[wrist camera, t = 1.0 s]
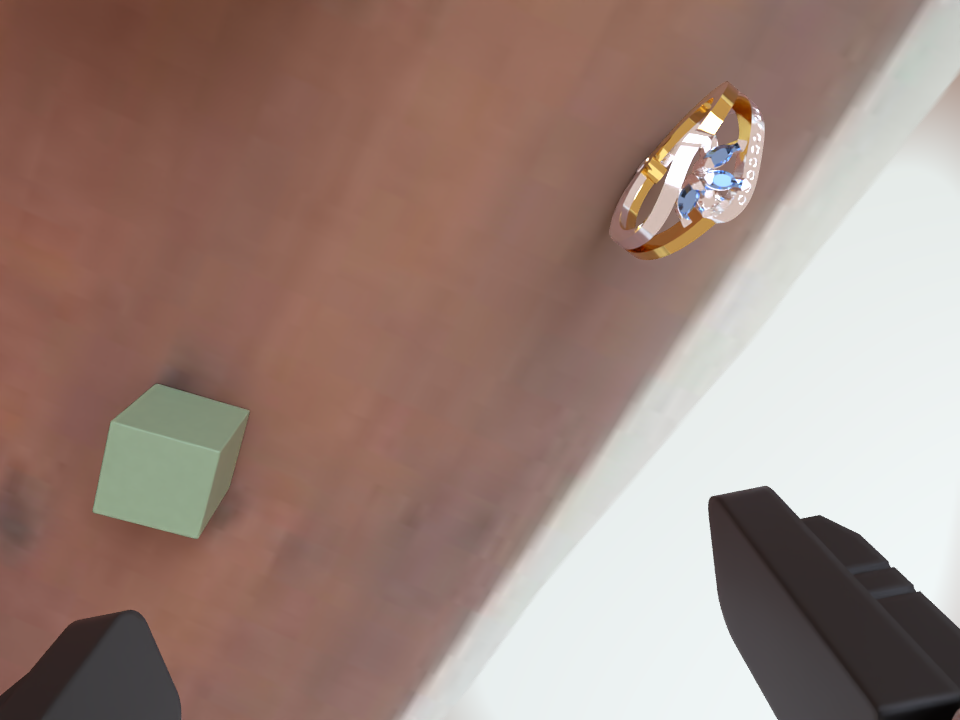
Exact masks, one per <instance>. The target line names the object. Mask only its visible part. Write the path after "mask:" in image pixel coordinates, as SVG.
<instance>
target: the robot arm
mask: <svg viewBox="0 0 960 720" xmlns="http://www.w3.org/2000/svg"><path fill="white" fill-rule="evenodd" d="M708 511H709V522H710V530H711V539H712V548H713V556H714V565H715V574H716V583H717V591H718V596H719V602H720V606H721V610H722V613H723V616H724V620H725V622H726V625H727V628H728V630H729V633H730V635H731V637H732V639H733V641H734V643H735V644H736V647H737V648H738V650H739V652H740V654H741V655H742V657H743V659H744V661H745V662H746V664H747V666H748V668H749V670H750V671H751V673H752V675H753V676H754V678H755V680H756V682H757V684H758V685H759V687H760V689H761V691H762V693H763V694H764V696H765V698H766V700H767V701H768V703H769V705H770V707H771V708H772V710H773V712H774V714H775V716H776V717H777V719H778V720H960V629H959V628H958V627H957V626H956V625H955V624H954V623H953V622H952V621H951V620H950V619H949V618H948V617H947V616H946V615H944V614H943V613H942V612H941V611H940V610H939V609H938V608H937V607H936V606H935V605H934V604H933V603H932V602H931V601H930V600H929V599H927V598H926V597H925V596H924V595H923V594H922V593H921V592H916V591H915V589H914V586H913V584H912V583H911V582H909V581H908V580H907V579H906V578H905V577H904V576H903V575H902V574H901V573H900V572H899V571H898V570H897V569H896V568H894V567H893V568H891V567H890V566H889V562H888V561H887V560H886V559H885V558H884V557H883V556H882V555H881V554H880V553H879V552H878V551H877V550H875V548H873V547H872V546H871V545H870V544H869V543H868V542H867V541H866V540H865V539H864V538H863V537H862V536H861V535H860V534H858V533H856V532H854V531H852V530H849V529H847V528H845V527H843V526H841V525H839V524H837V523H835V522H833V521H831V520H829V519H827V518H825V517H822V516H821V515H818V516H813V517H808V518H803V519H800V518H799V517H798V516H797V515H796V514H795V513H794V512H793V511H792V510H791V509H790V508H789V507H788V505H787V504H786V503H785V502H784V501H783V500H782V499H781V498H780V497H779V496H778V495H777V494H776V493H775V492H774V491H773V490H772V489H771V488H769V487H768V486H762V487H757V488H753V489H748V490H743V491H737V492H732V493H727V494H722V495H717V496H712V497H711V498H710V499H709V504H708ZM0 720H181V704H180V699H179V695H178V692H177V690H176V688H175V685H174V683H173V681H172V679H171V676H170V674H169V672H168V670H167V667H166V665H165V663H164V660H163V658H162V656H161V654H160V651H159V649H158V647H157V645H156V642H155V640H154V638H153V635H152V633H151V631H150V629H149V626H148V624H147V622H146V620H145V619H144V617H143V616H142V615H141V614H140V613H139V612H137V611H134V610H127V611H122V612H117V613H111V614H106V615H101V616H96V617H91V618H86V619H81V620H77V621H75V622H73V623H71V624H70V625H69V626H68V627H67V628H66V629H65V630H64V631H63V632H62V634H61V635H60V636H59V637H58V638H57V640H56V641H55V642H54V643H53V644H52V645H51V647H50V648H49V649H48V650H47V651H46V653H45V654H44V655H43V656H42V657H41V659H40V660H39V661H38V662H37V663H36V665H35V666H34V667H33V668H32V669H31V671H30V672H29V673H28V674H26V675H25V676H24V677H23V678H22V679H20V680H19V681H18V682H17V683H15V684H14V685H13V686H12V687H11V688H9V689H8V690H7V691H6V692H4V693H3V694H2V695H1V696H0Z"/></svg>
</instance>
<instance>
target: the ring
mask: <svg viewBox="0 0 960 720" xmlns="http://www.w3.org/2000/svg"><path fill="white" fill-rule="evenodd" d="M728 114H736V115H737V118H738V122H739V140H736V141H733V142H731V143H728V144H726V145H720V146H718V141H717V136H716V135H714V133H715V132H716V130H717V129H718V128H719V126H720V125H721V123H722V122H723V120H724V119H725V117H726V116H727V115H728ZM764 132H765V128H764V119H763V115H762V113H761V111H760V109H759V108H758V107H757V106H756V105H755V104H754V103H753V102H752V101H751V100H750V99H749V98H748V97H747V96H746V95H744V94H743V93H739V90H738V89H736V88H735V87H734V86H733V85H732V84H731V83H730V82H728V81H726V82H724V83H722V84H721V85H719V86H718V87H716V88H715V89H714V90H713V91H711V92H710V93H709V94H708V95H707V96H706V97H705V98H703V99H702V100H701V101H700V102H699V103H698V104H697V105H696V106H695V107H694V108H693V109H692V110H691V111H690V112H689V113H688V114H687V115H686V116H685V117H684V118H683V119H682V120H681V121H680V122H679V123H678V124H677V125H676V126H675V127H674V128H673V129H672V131H671V132H670V133H669V134H668V135H667V136H666V137H665V138H664V140H663V141H662V142H661V143H660V144H659V145H658V147H657V148H656V149H655V150H654V151H653V153H652V154H651V155H650V156H647V157H646V158H645V159H644V160H643V162H642V163H641V164H640V165H639V167H638V168H637V170H636V172H637V173H636V174H635V176H634V177H633V179H632V180H631V182H630V183H629V185H628V186H627V188H626V190H625V191H624V193H623V195H622V197H621V198H620V200H619V202H618V204H617V207H616V209H615V211H614V214H613V217H612V220H611V224H610V237H611V239H612V240H613V241H615V242H616V243H617V244H618V245H619V246H620V247H622V248H623V249H625V250H626V251H627V252H629V253H630V254H631V255H632V256H634V257H636V258H638V259H642V260H653V259H658V258H662V257H665V256H667V255H670V254H672V253H674V252H676V251H678V250H680V249H682V248H683V247H685V246H687V245H688V244H690V243H691V242H693V241H694V240H696V239H697V238H698V237H700V236H701V235H702V234H704V233H705V232H706V231H707V230H708V229H710V228H711V227H712V226H713V225H714V224H715V223H724V222H728V221H730V220H732V219H734V218H735V217H736V216H738V215H739V214H740V213H741V212H742V211H743V210H744V208H745V207H746V206H747V204H748V202H749V201H750V199H751V197H752V194H753V192H754V189H755V186H756V182H757V179H758V174H759V169H760V164H761V158H762V151H763V144H764ZM698 149H699V151H700V159H699V160H698V161H697V162H695V163H694V165H693V168H692V172H696V174H694V173H691V174H690V175H689V176H687V177H686V178H685V175H686V172H687V170H688V167H689V165H690V163H691V161H692V159H693V157H694V155H695V153H696V152H697V150H698ZM734 154H737V157H736V164H735V169H734V174H733V175H732V174H730V173H729V172H726V171H721V170H714V169H716V168H718V167H720V166H722V165H723V164H725V163H726V162H727V161H728V160H729V159H730V157H731V156H732V155H734ZM673 159H674V160H673ZM672 160H673V162H672V164H671V167H670V170H669V172H668V175H667V178H666V180H665V183H664V186H663V188H662V191H661V193H660V195H659V198H658V200H657V202H656V204H655V206H654V208H653V210H652V212H651V213H650V215H649V216H648V217H647V219H646V220H645V221H644V222H643V223H641V224H640V225H639V226H637V227H636V228H635V224H636V218H637V214H638V211H639V209H640V206H641V204H642V202H643V200H644V198H645V197H646V195H647V193H648V192H649V190H650V189H651V187H652V186H653V184H656V183H657V182H658V181H659V180H660V179H661V178H662V177H663V175H664V174H665V173H666V171H667V169H668V168H666V167H667V166H668V165H669V164H670V162H671V161H672ZM684 178H685V179H686V181H685V182H684V183H683V181H684ZM682 183H683V184H682ZM727 189H729V191H728V193H727V195H726V197H723V196H722V195H721V194H720V193H719V192H717V191H716V190H727ZM674 203H675V204H676V209H675V212H676V215H677V217H678V218H679V220H680V221H679V222H678V223H677V224H675V225H674V226H672V227H671V228H669V229H668V230H666V231H664V232H662V233H660V234H657V235H655V234H656V233H657V232H658V231H659V229H660V228H661V227H662V225H663V224H664V222H665V221H666V219H667V217H668V215H669V214H670V212H671V210H672V208H673V205H674ZM717 203H718V204H719V205H717V206H715V205H716V204H717ZM654 235H655V236H654Z"/></svg>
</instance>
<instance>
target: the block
mask: <svg viewBox="0 0 960 720" xmlns="http://www.w3.org/2000/svg"><path fill="white" fill-rule="evenodd" d="M249 413H250V411H249V410H246V409H243V408H239V407H236V406H232V405H229V404H226V403H222V402H219V401H215V400H212V399H208V398H205V397H202V396H198V395H195V394H191V393H188V392H184V391H181V390H178V389H174V388H171V387H167V386H164V385H160V384H155V385H153V386H152V387H151V388H150V389H149V390H148V391H146V392H145V393H144V394H143V395H142V396H140V397H139V398H138V399H137V400H136V401H134V402H133V403H132V404H131V405H130V406H129V407H127V408H126V409H125V410H124V411H123V412H121V413H120V414H119V415H118V416H117V417H115V418H114V419H113V420H112V421H111V422H110V427H109V432H108V437H107V442H106V447H105V451H104V456H103V461H102V466H101V471H100V476H99V481H98V486H97V491H96V496H95V501H94V506H93V513H96V514H100V515H104V516H108V517H112V518H116V519H120V520H124V521H128V522H132V523H135V524H139V525H143V526H147V527H151V528H155V529H159V530H163V531H167V532H171V533H174V534H178V535H182V536H186V537H190V538H194V539H198V538H199V536H200V535H201V533H202V532H203V530H204V528H205V527H206V525H207V523H208V522H209V520H210V519H211V517H212V515H213V514H214V512H215V510H216V509H217V507H218V505H219V504H220V502H221V501H222V499H223V497H224V496H225V494H226V492H227V491H228V489H229V487H230V484H231V480H232V476H233V472H234V469H235V465H236V461H237V458H238V454H239V450H240V447H241V443H242V439H243V435H244V432H245V428H246V424H247V421H248V417H249Z"/></svg>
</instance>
